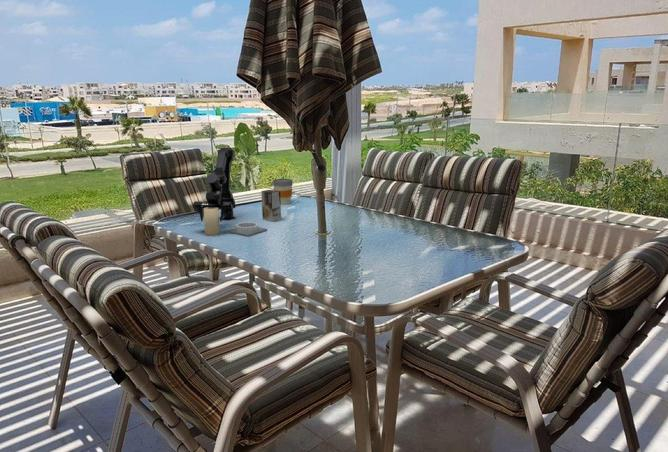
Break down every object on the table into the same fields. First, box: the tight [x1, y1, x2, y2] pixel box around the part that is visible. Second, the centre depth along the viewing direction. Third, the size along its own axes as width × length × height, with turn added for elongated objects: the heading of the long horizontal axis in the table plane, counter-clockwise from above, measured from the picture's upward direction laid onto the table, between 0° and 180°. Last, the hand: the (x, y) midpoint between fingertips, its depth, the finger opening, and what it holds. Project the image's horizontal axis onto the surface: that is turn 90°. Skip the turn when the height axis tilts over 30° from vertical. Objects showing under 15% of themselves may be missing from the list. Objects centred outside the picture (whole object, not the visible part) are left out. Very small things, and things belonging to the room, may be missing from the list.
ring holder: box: [226, 221, 268, 238], centre depth 251 cm, size 14×14×4 cm
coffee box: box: [261, 189, 282, 223], centre depth 275 cm, size 9×6×16 cm
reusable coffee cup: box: [272, 178, 293, 206], centre depth 318 cm, size 13×13×15 cm
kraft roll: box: [203, 207, 221, 237], centre depth 245 cm, size 7×7×13 cm
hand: (211, 221), depth 244 cm, fingers open, 9 cm apart
